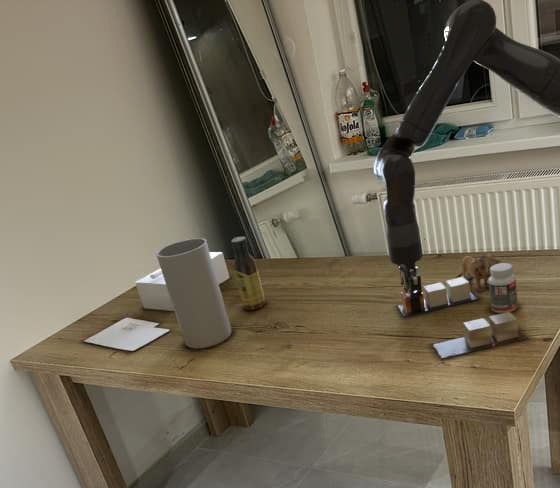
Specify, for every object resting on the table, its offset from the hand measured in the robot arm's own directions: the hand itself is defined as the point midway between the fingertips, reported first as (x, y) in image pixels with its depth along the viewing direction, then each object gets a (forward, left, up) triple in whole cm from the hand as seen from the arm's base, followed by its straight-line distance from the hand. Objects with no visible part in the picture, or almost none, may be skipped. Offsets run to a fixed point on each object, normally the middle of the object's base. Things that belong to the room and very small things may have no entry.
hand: (413, 307), depth 164 cm
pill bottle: (-18, +11, -1) cm, 21 cm away
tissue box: (+59, -53, -1) cm, 80 cm away
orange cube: (0, 0, 0) cm, 0 cm away
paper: (+75, -29, 0) cm, 80 cm away
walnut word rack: (-8, +25, 0) cm, 26 cm away
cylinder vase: (+51, -12, -1) cm, 53 cm away
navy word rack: (-6, 0, 0) cm, 6 cm away
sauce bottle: (+38, -27, -1) cm, 47 cm away
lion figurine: (-18, -5, -1) cm, 18 cm away
